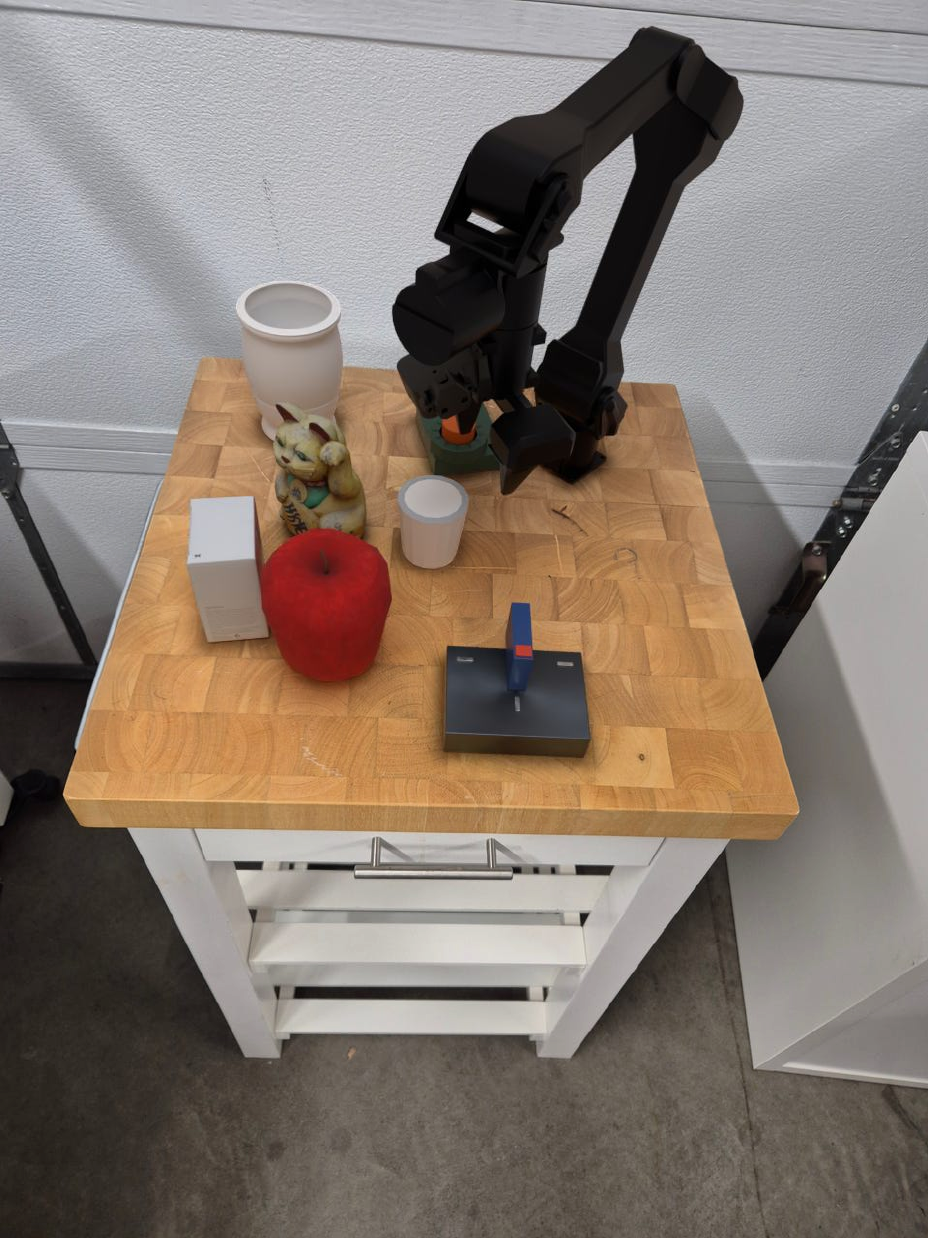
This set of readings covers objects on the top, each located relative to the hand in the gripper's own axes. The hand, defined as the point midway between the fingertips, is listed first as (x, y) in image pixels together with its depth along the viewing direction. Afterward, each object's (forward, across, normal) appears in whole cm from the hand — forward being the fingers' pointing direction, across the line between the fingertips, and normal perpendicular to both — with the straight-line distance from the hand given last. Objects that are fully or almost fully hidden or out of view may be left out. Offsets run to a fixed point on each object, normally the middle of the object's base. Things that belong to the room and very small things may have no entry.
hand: (484, 462), depth 77 cm
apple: (+10, +9, -19) cm, 23 cm away
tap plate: (+10, +19, -5) cm, 22 cm away
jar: (+10, -23, -12) cm, 28 cm away
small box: (+10, +1, -25) cm, 27 cm away
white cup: (+10, 0, -5) cm, 11 cm away
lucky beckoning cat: (+10, -6, -14) cm, 18 cm away
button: (+6, -12, +3) cm, 14 cm away
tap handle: (+7, +18, -5) cm, 20 cm away
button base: (+10, -14, +4) cm, 18 cm away
